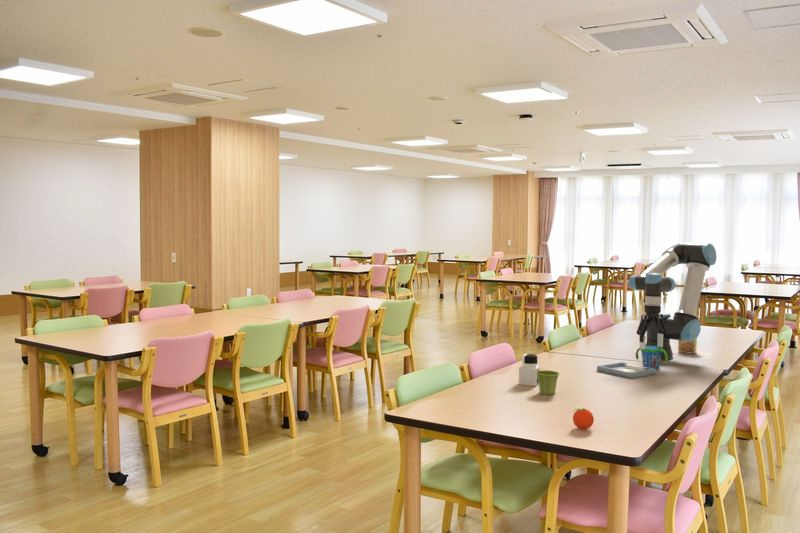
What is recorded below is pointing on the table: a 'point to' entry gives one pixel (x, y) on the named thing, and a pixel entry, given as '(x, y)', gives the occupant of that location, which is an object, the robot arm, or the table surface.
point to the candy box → (687, 346)
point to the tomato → (583, 418)
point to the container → (529, 370)
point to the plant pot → (547, 381)
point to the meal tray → (626, 370)
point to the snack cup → (652, 356)
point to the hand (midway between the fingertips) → (651, 347)
